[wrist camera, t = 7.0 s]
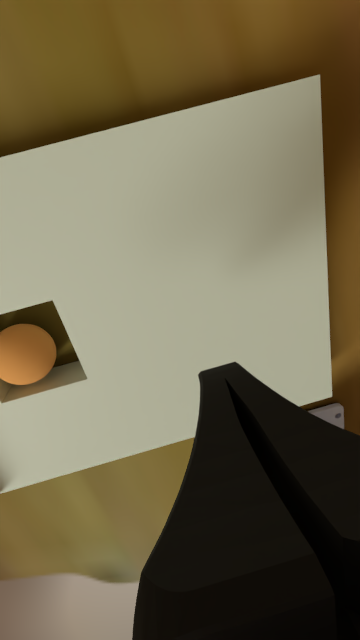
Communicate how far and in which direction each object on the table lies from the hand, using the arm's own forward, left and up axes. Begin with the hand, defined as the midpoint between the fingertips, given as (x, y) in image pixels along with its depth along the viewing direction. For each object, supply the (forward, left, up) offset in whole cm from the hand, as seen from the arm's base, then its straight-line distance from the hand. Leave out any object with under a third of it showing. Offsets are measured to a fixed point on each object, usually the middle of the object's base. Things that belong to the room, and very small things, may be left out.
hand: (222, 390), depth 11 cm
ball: (0, +10, -8) cm, 12 cm away
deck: (0, +4, -10) cm, 10 cm away
